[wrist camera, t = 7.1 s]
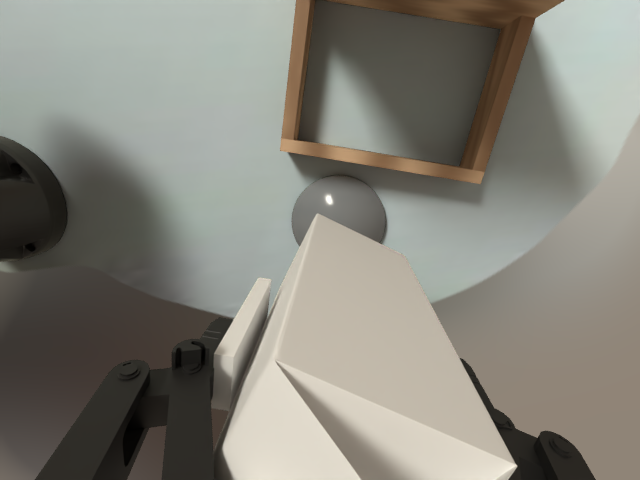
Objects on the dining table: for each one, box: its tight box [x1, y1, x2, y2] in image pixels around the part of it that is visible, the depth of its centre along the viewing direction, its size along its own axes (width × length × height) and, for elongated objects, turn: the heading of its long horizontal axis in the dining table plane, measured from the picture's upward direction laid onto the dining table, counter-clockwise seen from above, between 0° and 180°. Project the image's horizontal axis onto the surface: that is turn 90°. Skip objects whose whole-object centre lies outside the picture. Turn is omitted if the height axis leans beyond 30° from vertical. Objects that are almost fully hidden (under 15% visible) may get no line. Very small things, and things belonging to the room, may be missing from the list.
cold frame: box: [280, 0, 565, 184], centre depth 21 cm, size 20×17×21 cm
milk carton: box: [213, 214, 517, 480], centre depth 14 cm, size 7×7×19 cm
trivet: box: [292, 175, 385, 246], centre depth 36 cm, size 11×11×1 cm
